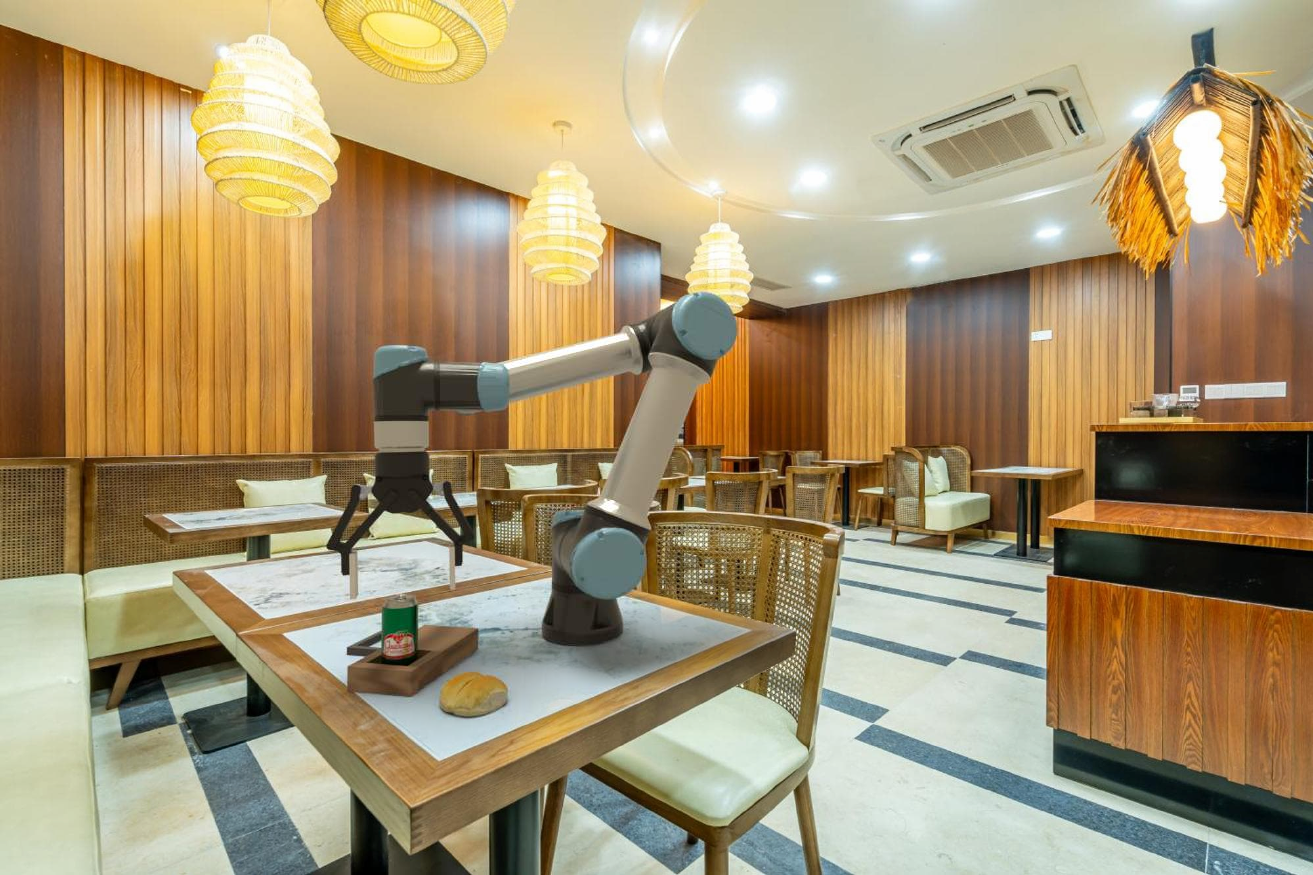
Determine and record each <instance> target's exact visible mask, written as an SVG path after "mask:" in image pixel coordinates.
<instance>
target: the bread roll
mask: <svg viewBox="0 0 1313 875" xmlns="http://www.w3.org/2000/svg"><path fill="white" fill-rule="evenodd" d="M508 691H509V690H508V686H507V685H506V683H504V681H502V680H501V679H499V678H498V677H496V676H494V675H492V674H491V675H487V674H486V675H484V674H482V673H480V672H478V671H465V672H462V673H458V674H456V675H453V676H452V677H450V678H449V679H448V680H447V681H446V682H445V683H444V684H443V686H442V688H441V691H440V694H439V707H440V708H441V709H442V710H443V711H444V712H446V713H451V714H452V713H454V715H456V716H458V717H468V718H469V717H479V716H484V715H486V714H489V713H492V712H494V711H497V710H498V709H500V708H502V707H503V706H504V705H505V704H506V702H507V700H508Z"/></svg>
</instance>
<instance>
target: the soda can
mask: <svg viewBox="0 0 1313 875" xmlns="http://www.w3.org/2000/svg"><path fill="white" fill-rule="evenodd" d="M416 596H417V595H414V594H412V593H411V594H409V593H408V594H407V593H399V594H393V595H389V596H387V597H385V598H384V602H383V604H382V605H381V630H380V631H381V640H380V643H381V645H380V646H381V647H380V648H381V664H385V665H397V666H409V665H410V664H412V663H414V662H415V661H417V660H418V628H419V604H420V603H419V602H418V600H417V597H416Z"/></svg>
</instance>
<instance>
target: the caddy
mask: <svg viewBox="0 0 1313 875" xmlns="http://www.w3.org/2000/svg"><path fill="white" fill-rule="evenodd" d="M478 649H479V628H478V627H477V628H476V627H465V626H463V627H462V626H452V625H451V626H449V625H435V624H434V625H433V624H424V625H422V626H420V627H418V660H417V661H415V662H414V663H412V664H410V665H409V666H397V665H385V664H381V649H379V650H377V651H375V652H373V653H371V654H370V655H368V656H363V658H361V659H359V660H357V661H355V662H352V663H351V664H349V665H347V670H346V671H347V676H346V677H347V678H346V679H347V680H346V681H347V685H346V689H347V690H346V691H347V692H355V693H367V694H376V695H388V696H400V697H410V698H411V697H413V696H414V695H416V694H417V693H419V692H420V691H421V690H423V689H424V688H426V687H427V686H429V684H431V683H432V682H434V681H435V680H437V679H438V678H439V677H441V676H442V675H443V674H445V673H447V672H448V671H449V670H451V669H452V668H453V667H455V666H457V664H459V663H460V662H462V661H463V660H465V659H466V658H467V657H468V656H470V655H472V654H474V652H475V651H477V650H478Z"/></svg>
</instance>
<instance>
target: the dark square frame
mask: <svg viewBox="0 0 1313 875" xmlns="http://www.w3.org/2000/svg"><path fill="white" fill-rule="evenodd" d="M381 631H382V630H380V631H377V632H375V633H373V634H371V635H369V636H368V637H365V638H363V639H360V640H359V641H357V642H354V643H353V644H351V645H348V646H346V655H349V656H362V657H366V656H368V655H370V654H371V653H373V652H375V651H377V650H379V649H381V647H376V646H373V645H374V644H376V643H378V642H381Z"/></svg>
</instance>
